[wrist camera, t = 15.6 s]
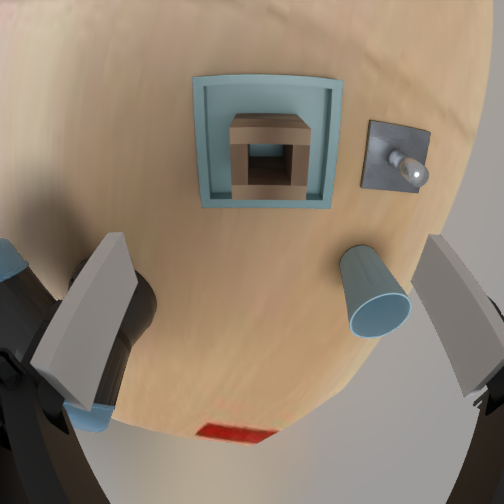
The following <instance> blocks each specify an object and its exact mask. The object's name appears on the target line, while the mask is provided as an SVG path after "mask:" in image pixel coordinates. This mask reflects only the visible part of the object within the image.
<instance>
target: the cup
mask: <svg viewBox="0 0 504 504" xmlns="http://www.w3.org/2000/svg"><path fill="white" fill-rule="evenodd" d="M340 270H341V275H342V281H343V287H344V293H345V299H346V305H347V312H348V320H349V327H350V330H351V332H352V333H353V334H354V335H356V336H358V337H361V338H376V337H381V336H384V335H386V334H388V333H390V332H392V331H394V330H396V329H397V328H398V327H400V326H401V325H402V324H403V323H404V321H406V319H407V318H408V316H409V314H410V312H411V308H412V304H411V301H410V299H409V297H408V296H407V294H406V293H405V291H404V290H403V289H402V287H401V286H400V285H399V283H398V282H397V281H396V279H395V278H394V276H393V275H392V274H391V272H390V271H389V269H388V268H387V267H386V265H385V264H384V263H383V261H382V260H381V258H380V257H379V256H378V254H377V253H376V252H375V251H374V249H373V248H371V247H369V246H366V245H360V246H355V247H353V248H351V249H349V250H348V251H347V252H346V253H345V254H344V255H343V256H342V258H341V261H340Z"/></svg>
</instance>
